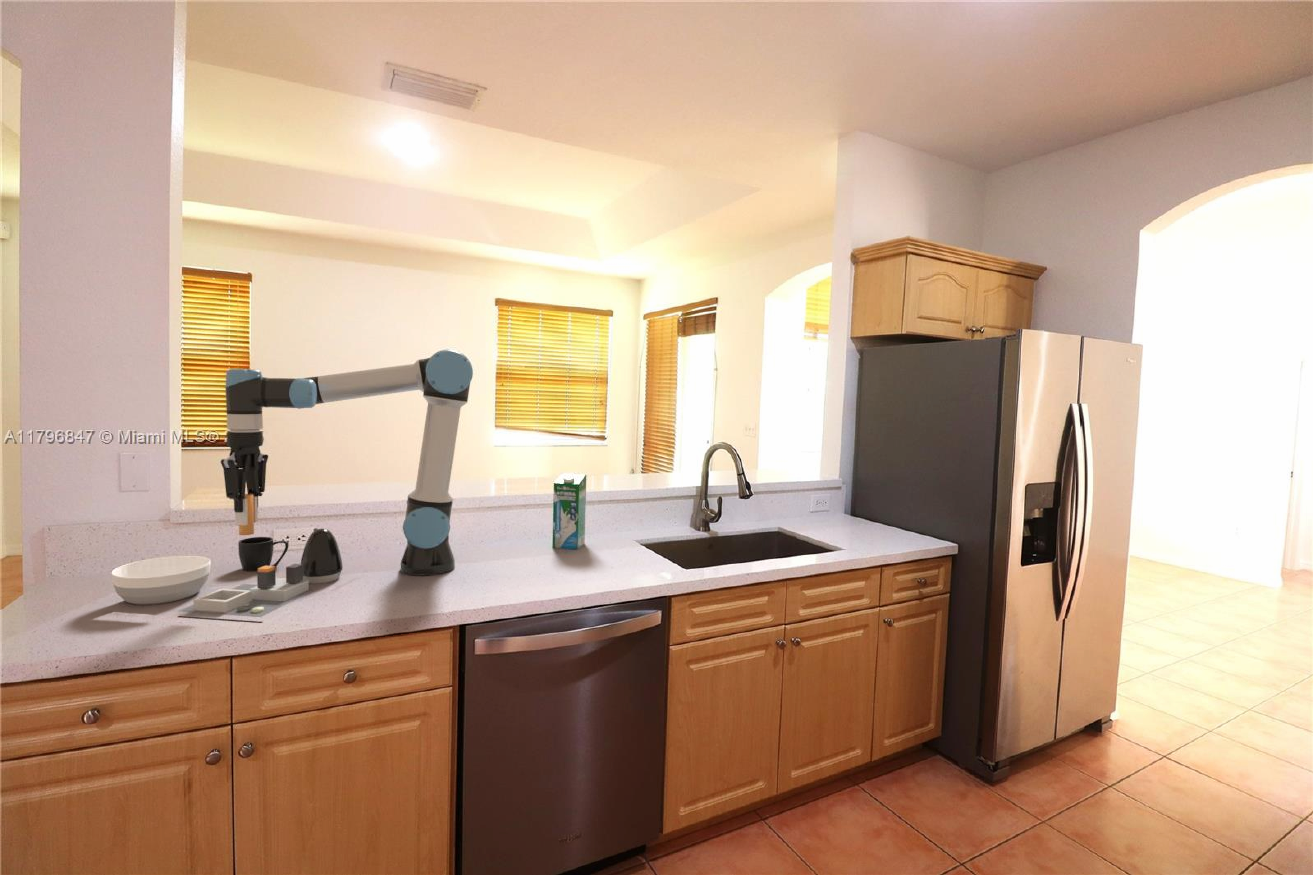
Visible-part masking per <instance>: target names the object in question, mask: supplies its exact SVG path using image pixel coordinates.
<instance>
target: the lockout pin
mask: <svg viewBox="0 0 1313 875" xmlns="http://www.w3.org/2000/svg"><path fill="white" fill-rule="evenodd" d="M244 499H247V503H248V525H238V536H251V535H254V534H255V522H254V494H248V493H245V498H244Z"/></svg>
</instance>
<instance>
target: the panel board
mask: <svg viewBox="0 0 1313 875" xmlns="http://www.w3.org/2000/svg"><path fill="white" fill-rule="evenodd" d="M275 578H276V585H274V586H272V587H270V588H268V589H261V588H258V584H252V583H250V584H249V583H243V584H240V585H238V586H235V587H233V588H220V589H217V590H215V591H214V590H213V591H212V592H210V593H207V594H205V595H202V596H200V597H197V598H194V599H193V604H191V605H190V606H186V607H184V608H182V609H179V610H178V612H182V613H185V612H186V613H199V614H212V615H213V614H214V615H215V614H216V615H229V616H242V617H254V618H255V617H259V618H261V617H263V616H266V615H267V614H270V613H272V612H273V611H275V610H277V609H279V608H281V607H284V606H286V605H287V604H289V603H291V602H293V601H295V600H297V599H300V598H302V597H303V596H305V595H308V594H309V593H312V592H313V591H315V590H316V588H311V587H310V583H309V580H302V581H299V582H297V583H286V577H284V578H282V577H275ZM177 618H179V619H180V618H182V619H197V620H209V621H211V620H212V621H224V622H226V621H227V622H236V623H237V622H239V623H240V622H241V623H250V624H251V623H253V624H263V621H256V620H242V619H241V620H240V619H229V618H212V617H201V616H186V615H178V616H177Z"/></svg>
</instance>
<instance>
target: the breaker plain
mask: <svg viewBox="0 0 1313 875" xmlns="http://www.w3.org/2000/svg"><path fill="white" fill-rule="evenodd" d="M285 578H286V583H297V582H299V581H302V580H303V564H301V563H292V564H290V565H288V566H286V567H285Z"/></svg>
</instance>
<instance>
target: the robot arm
mask: <svg viewBox="0 0 1313 875" xmlns="http://www.w3.org/2000/svg"><path fill="white" fill-rule="evenodd" d="M473 375H474V370H473V366H472V363H471V361H470V360H469V359H468V357H467V356H466V355H465V354H463V353H462V352H460V351H457V350H455V349H442V350H438V351H436V352H435V353H433V354H432V355H431V356H430V357H428V358H422V359H421V358H420V359H417V360H416V361H415V362H414V363H411V364H401V365H394V366H389V367H380V368H379V367H378V368H372V369H365V370H356V371H355V370H354V371H348V372H343V373H342V372H340V373H333V374H326V375H319V376H311V377H302V378H291V377H290V378H285V377H284V378H283V377H281V378H280V377H274V378H273V377H263V374H262V371H261V370H260V369H251V368H250V369H248V368H247V369H245V368H240V369H239V368H230V369H228V370H227V371H226V373H225V386H224V388H225V405H226V406H225V407H226V410H225V411H226V429H227V430H228V431H227V432H226V446H227V447H229V448H230V452H229V454H228V455H229V456H228V457H227V458H226V459H225V458H224V459H223V458H222V459H221V460H220V464H221V467H222V468H223V469H222V470H223V476H224V487H225V494H226V495H225V496H226V498H227V499H229V500H233V505H234V506H233V509H234V510H233V511H234V515H235V516H234V517H235V520H234V521H235V526H236V525H237V526H239V525H248V503H247V499H244V498H245V494H246V490H247V494H254V523H259V522H258V519H259V517H258V514H259V513H258V511H259V510H258V508H259V497H262V496H263V493H264V492H265V491H266V475H267V474H266V473H267V463H268V459H269V455H268V454H263V453H261V449H260V447H262V446H263V444H264V440H263V439H264V437H263V436H264V435H263V434H264V433H263V432H262V431H261V430H263V429H264V424H263V423H264V422H263V421H264V420H263V408H280V409H283V408H284V409H298V410H299V409H300V410H302V409H312V408H314V407H315V406H316V405H320V404H321V405H322V404H326V403H333V402H334V403H335V402H341V401H348V400H355V399H362V398H363V399H364V398H369V397H376V396H384V395H390V394H397V393H399V394H400V393H404V392H413V391H421V392H422V393H423V394H422V395H423V396H422V397H423V398H424V400H425V401H426V403H427V406H426V407H427V408H426V414H425V415H426V416H425V422H424V426H423V427H424V428H423V429H424V430H423V433H422V434H423V436H422V441H421V449H420V457H419V463H418V471H417V474H416V475H417V476H416V483H415V489H414V490H413V491H411V492H410V493H408V495H407V500H406V510H405V517H404V520H403V523H402V531H403V535H404V537H405V539H406V546H405V550H404V552H403V555H402V558H401V560H400V571H401V572H402V573H403V574H407V575H410V576H411V575H412V576H433V575H434V576H435V575H441V574H445V573H447V572H451V571H452V570H454V569H455V567H456V566H455V556H454V554H453V551H452V548H451V545H450V542H449V539H450V536H449V534H450V530H451V524H450V522H451V517H452V510H453V509H452V508H453V501H454V498H453V497H452V496H451V495H450V494H449V489H450V482H451V478H452V469H453V463H454V456H455V455H454V454H455V449H456V443H457V436H458V429H459V428H458V427H459V423H460V422H459V421H460V416H461V415H460V414H461V409H462V407H464V406H465V405H466V404H467V403H468V399H469V395H470V394H469V393H470V387H471V382H472V379H473Z"/></svg>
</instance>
